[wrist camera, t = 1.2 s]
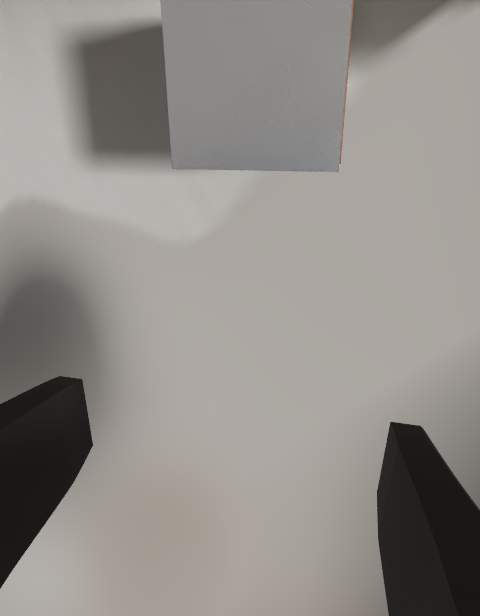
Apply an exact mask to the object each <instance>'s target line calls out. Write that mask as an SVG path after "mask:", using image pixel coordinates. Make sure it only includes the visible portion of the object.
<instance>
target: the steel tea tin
mask: <svg viewBox="0 0 480 616" xmlns="http://www.w3.org/2000/svg"><path fill="white" fill-rule="evenodd" d="M353 5H354V0H161V14H162V29H163V43H164V58H165V73H166V87H167V102H168V117H169V132H170V146H171V161H172V169H213V170H263V171H315V172H338V170H339V164H340V163H341V151H342V138H343V127H344V115H345V102H346V90H347V78H348V66H349V54H350V41H351V29H352V17H353Z"/></svg>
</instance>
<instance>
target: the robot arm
mask: <svg viewBox="0 0 480 616" xmlns="http://www.w3.org/2000/svg"><path fill="white" fill-rule="evenodd" d="M92 446H93V443H92V437H91V431H90V425H89V419H88V412H87V406H86V400H85V394H84V388H83V382H82V379H76V378H69V377H62V376H59V377H57V378H54V379H51V380H49V381H47V382H45V383H43V384H40V385H38V386H36V387H34V388H32V389H30V390H28V391H26V392H24V393H22V394H20V395H18V396H16V397H14V398H12V399H10V400H8V401H6V402H4V403H2V404H0V588H1V587H2V585H3V584H4V582H5V581H6V579H7V578H8V576H9V574H10V573H11V571H12V570H13V568H14V567H15V566H16V564H17V563H18V561H19V560H20V558H21V557H22V556H23V554H24V553H25V551H26V550H27V549H28V547H29V546H30V544H31V543H32V541H33V540H34V538H35V537H36V536H37V534H38V533H39V532H40V530H41V529H42V527H43V526H44V524H45V523H46V521H47V520H48V519H49V517H50V516H51V514H52V513H53V512H54V510H55V509H56V507H57V506H58V504H59V503H60V502H61V500H62V499H63V497H64V496H65V494H66V493H67V491H68V490H69V488H70V487H71V485H72V484H73V482H74V481H75V479H76V477H77V475H78V473H79V471H80V469H81V468H82V466H83V464H84V462H85V460H86V458H87V456H88V454H89V452H90V450H91V448H92ZM377 507H378V508H377V512H378V540H379V548H380V555H381V562H382V570H383V577H384V584H385V591H386V598H387V605H388V612H389V616H480V510H479V508H478V507H477V506H476V504H475V503H474V502H473V500H472V499H471V498H470V496H469V495H468V493H467V492H466V491H465V490H464V488H463V487H462V485H461V484H460V483H459V481H458V480H457V478H456V477H455V475H454V474H453V472H452V471H451V470H450V468H449V467H448V465H447V464H446V462H445V461H444V459H443V458H442V456H441V455H440V454H439V452H438V450H437V449H436V447H435V446H434V444H433V443H432V441H431V440H430V438H429V437H428V435H427V434H426V432H425V431H424V429H423V428H422V427H421V426H416V425H410V424H402V423H394V422H390V428H389V433H388V438H387V443H386V448H385V454H384V459H383V464H382V469H381V475H380V480H379V485H378V490H377Z"/></svg>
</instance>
